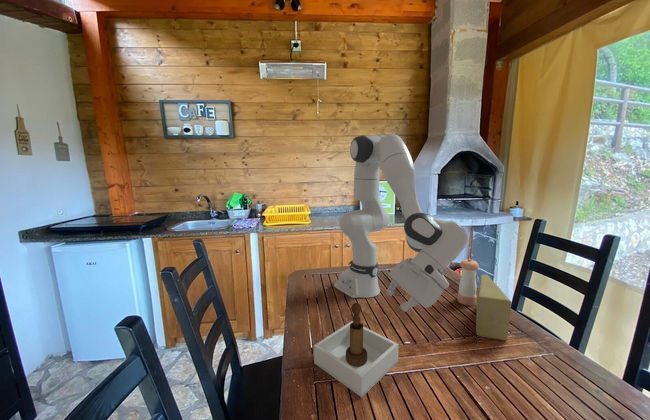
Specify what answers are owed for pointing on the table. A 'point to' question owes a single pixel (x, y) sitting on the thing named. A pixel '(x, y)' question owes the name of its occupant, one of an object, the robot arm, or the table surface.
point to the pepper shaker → (468, 283)
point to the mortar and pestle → (356, 340)
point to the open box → (355, 378)
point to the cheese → (492, 310)
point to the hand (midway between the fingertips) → (394, 301)
